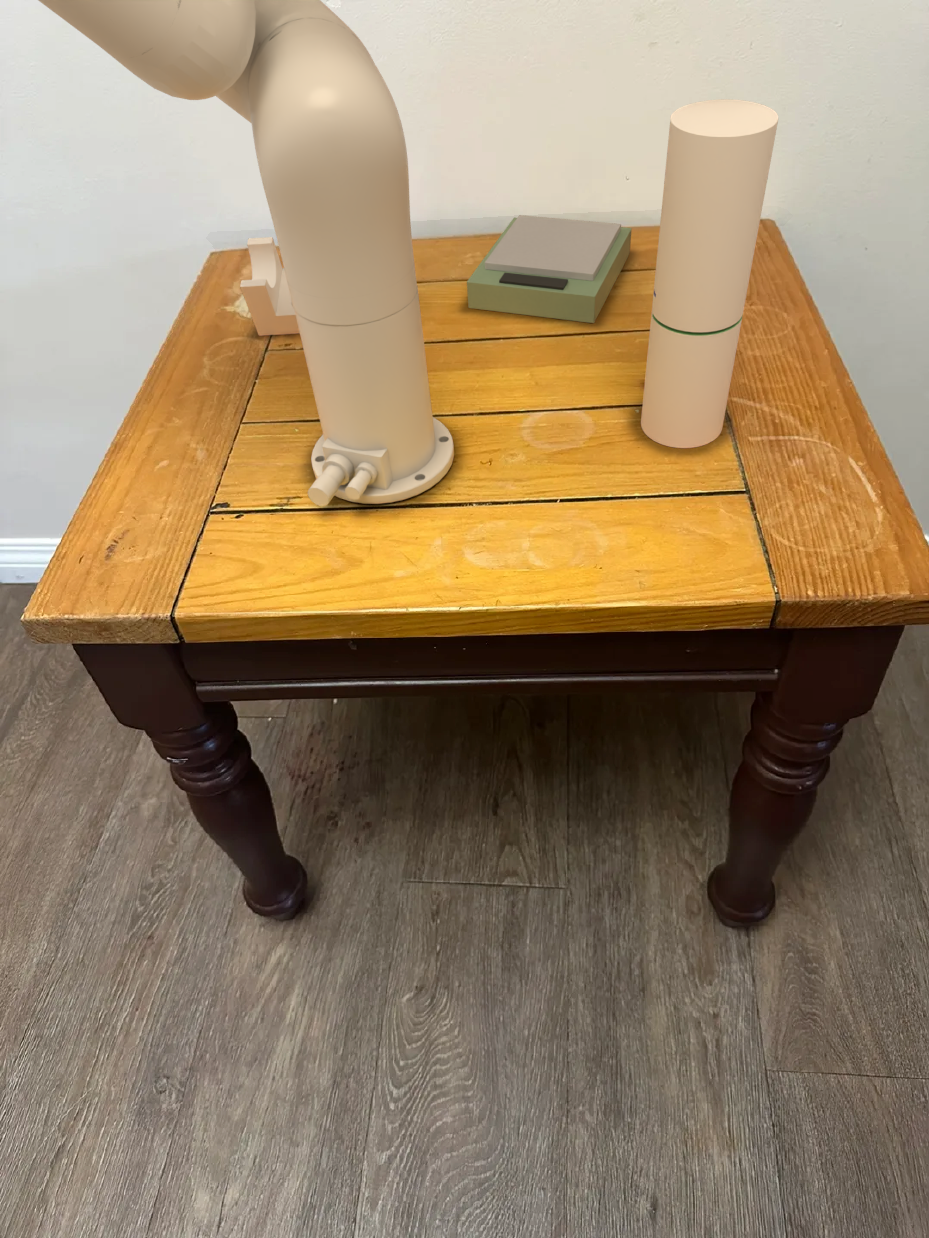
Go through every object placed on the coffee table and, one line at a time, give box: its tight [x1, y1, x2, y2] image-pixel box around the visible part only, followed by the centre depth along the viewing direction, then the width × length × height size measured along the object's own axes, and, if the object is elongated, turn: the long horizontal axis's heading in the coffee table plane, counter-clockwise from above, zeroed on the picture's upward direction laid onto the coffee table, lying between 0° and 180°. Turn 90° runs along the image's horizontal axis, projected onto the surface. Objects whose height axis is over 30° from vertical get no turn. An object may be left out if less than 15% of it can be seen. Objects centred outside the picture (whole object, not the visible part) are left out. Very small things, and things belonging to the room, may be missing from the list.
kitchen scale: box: [466, 214, 633, 324], centre depth 95 cm, size 16×14×4 cm
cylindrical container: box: [640, 98, 779, 449], centre depth 68 cm, size 7×7×25 cm
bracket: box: [239, 236, 300, 337], centre depth 92 cm, size 13×7×8 cm, turn 89°
